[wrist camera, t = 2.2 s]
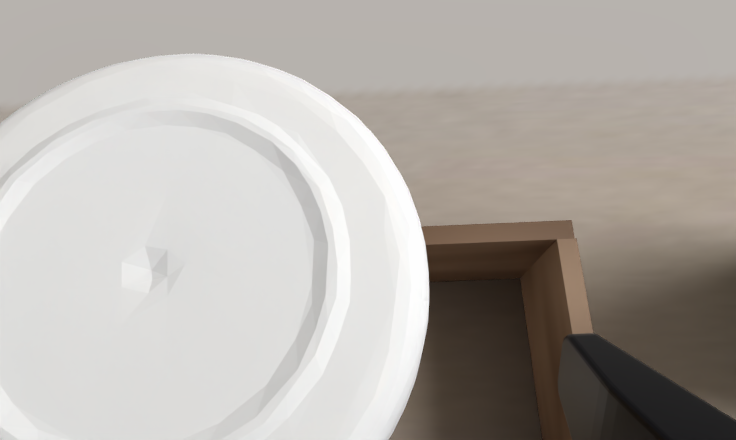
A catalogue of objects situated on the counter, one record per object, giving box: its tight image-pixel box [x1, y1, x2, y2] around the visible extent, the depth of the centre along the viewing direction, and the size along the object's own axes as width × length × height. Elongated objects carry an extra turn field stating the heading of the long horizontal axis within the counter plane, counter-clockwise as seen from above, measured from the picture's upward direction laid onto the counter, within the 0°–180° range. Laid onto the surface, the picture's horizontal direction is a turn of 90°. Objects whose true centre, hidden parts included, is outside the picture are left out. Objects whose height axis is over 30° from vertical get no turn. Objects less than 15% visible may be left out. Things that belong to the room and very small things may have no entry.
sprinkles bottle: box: [0, 54, 429, 440], centre depth 11 cm, size 5×5×14 cm
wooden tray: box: [421, 220, 593, 440], centre depth 15 cm, size 9×14×4 cm, turn 92°
